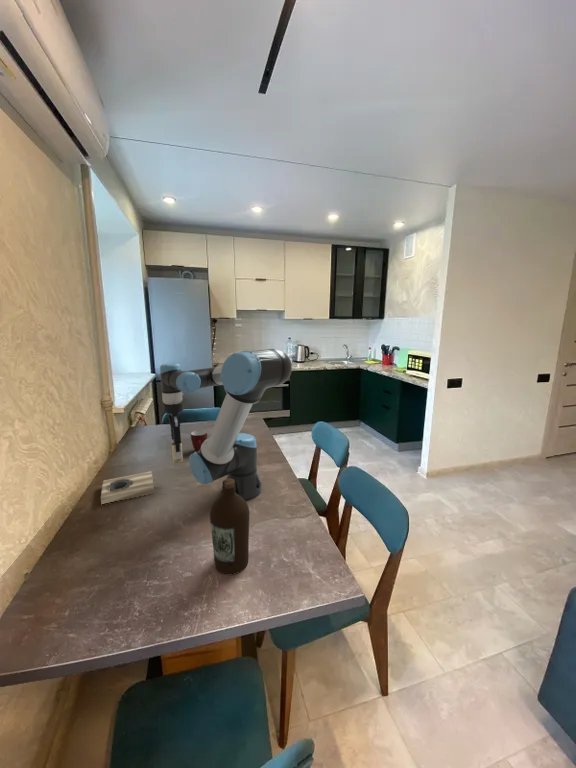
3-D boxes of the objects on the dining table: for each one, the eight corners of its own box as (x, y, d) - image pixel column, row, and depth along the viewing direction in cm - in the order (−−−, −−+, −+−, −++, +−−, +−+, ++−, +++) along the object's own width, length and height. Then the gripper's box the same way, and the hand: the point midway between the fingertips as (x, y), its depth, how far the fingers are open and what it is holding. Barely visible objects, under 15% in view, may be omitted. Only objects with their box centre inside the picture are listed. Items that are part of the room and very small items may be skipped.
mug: (209, 454, 158) (208, 436, 156) (193, 457, 155) (191, 438, 153) (206, 446, 168) (205, 429, 166) (191, 449, 165) (190, 431, 163)
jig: (154, 493, 123) (153, 486, 122) (101, 505, 115) (100, 497, 114) (152, 477, 135) (151, 471, 134) (104, 487, 127) (103, 480, 127)
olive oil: (225, 544, 95) (222, 469, 90) (257, 554, 91) (255, 475, 86) (204, 570, 85) (199, 487, 80) (238, 582, 81) (235, 495, 76)
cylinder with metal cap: (183, 461, 129) (182, 443, 128) (173, 463, 128) (171, 445, 126) (182, 458, 133) (180, 440, 131) (172, 460, 131) (170, 441, 130)
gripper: (185, 405, 120) (190, 462, 124) (179, 396, 134) (183, 448, 139) (165, 408, 116) (170, 466, 121) (161, 398, 131) (165, 451, 136)
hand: (177, 456), depth 130 cm, fingers closed on cylinder with metal cap, 3 cm apart
